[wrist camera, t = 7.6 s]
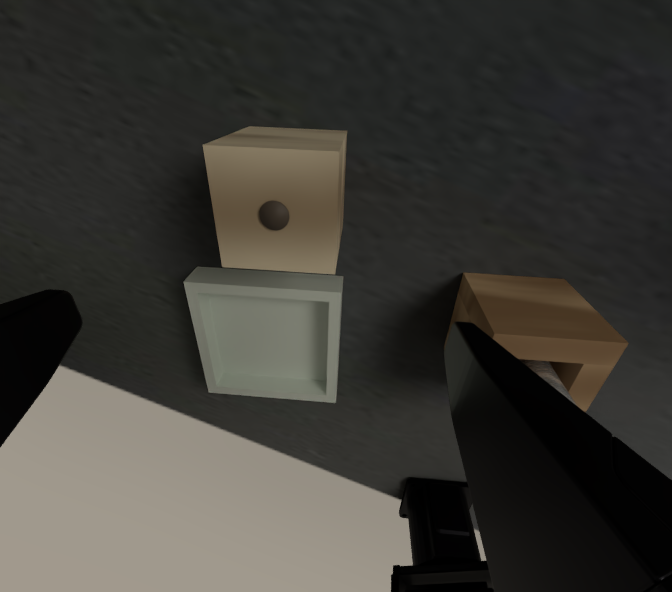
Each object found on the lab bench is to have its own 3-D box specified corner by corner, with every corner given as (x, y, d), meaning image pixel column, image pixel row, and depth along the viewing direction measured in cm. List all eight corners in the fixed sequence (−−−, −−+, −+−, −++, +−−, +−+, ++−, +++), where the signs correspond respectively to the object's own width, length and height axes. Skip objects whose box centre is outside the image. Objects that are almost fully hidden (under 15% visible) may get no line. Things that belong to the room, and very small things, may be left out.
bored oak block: (530, 354, 24) (575, 428, 19) (443, 348, 24) (464, 418, 19) (564, 279, 21) (628, 343, 16) (463, 272, 21) (494, 333, 16)
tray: (337, 382, 27) (335, 402, 25) (218, 373, 27) (208, 392, 25) (343, 276, 22) (341, 292, 20) (197, 266, 22) (183, 281, 20)
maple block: (342, 225, 20) (334, 275, 15) (258, 220, 20) (221, 268, 15) (347, 130, 17) (339, 152, 12) (249, 126, 18) (201, 145, 12)
